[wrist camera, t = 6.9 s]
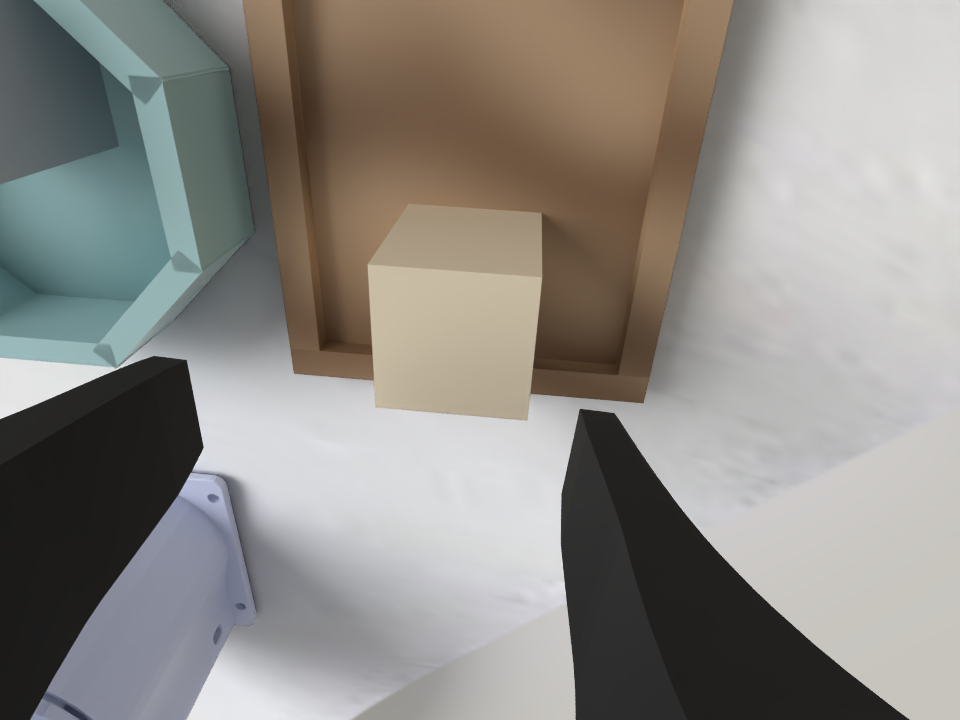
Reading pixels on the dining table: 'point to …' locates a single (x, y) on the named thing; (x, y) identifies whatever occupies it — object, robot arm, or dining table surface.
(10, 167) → the grey block
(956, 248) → the dining table surface
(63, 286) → the bowl
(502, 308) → the beige block
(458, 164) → the tray
